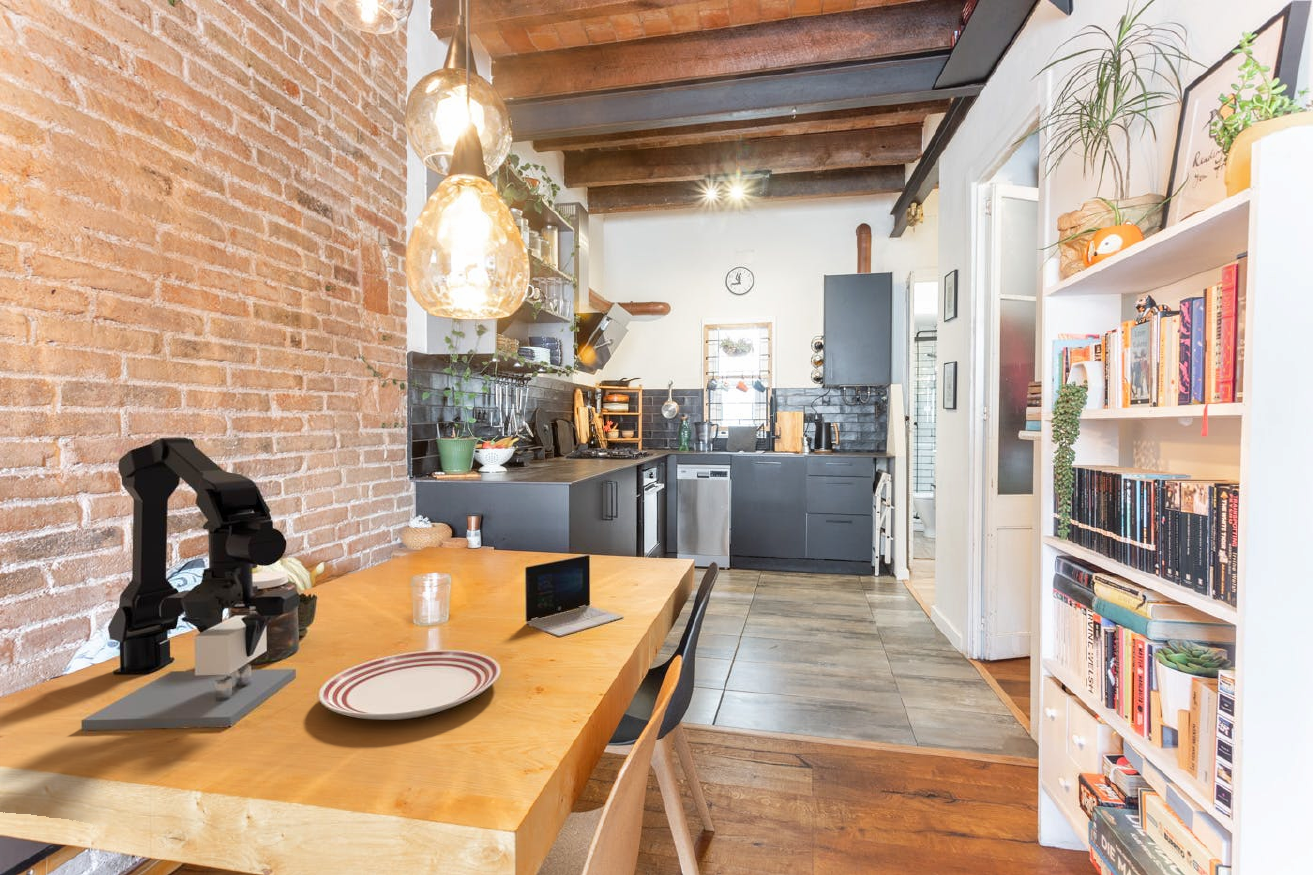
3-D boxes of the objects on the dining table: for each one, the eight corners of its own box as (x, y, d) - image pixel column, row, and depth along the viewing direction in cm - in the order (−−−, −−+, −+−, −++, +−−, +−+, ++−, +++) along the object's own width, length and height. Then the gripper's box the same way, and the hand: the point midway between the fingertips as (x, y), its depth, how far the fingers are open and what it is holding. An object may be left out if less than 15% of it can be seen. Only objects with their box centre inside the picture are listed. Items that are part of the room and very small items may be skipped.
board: (81, 730, 92) (81, 720, 92) (171, 679, 110) (171, 671, 110) (230, 726, 93) (230, 716, 93) (295, 677, 111) (295, 668, 110)
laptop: (559, 639, 131) (558, 576, 130) (525, 625, 139) (524, 566, 139) (624, 619, 143) (623, 562, 143) (589, 608, 152) (588, 554, 152)
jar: (314, 646, 126) (312, 571, 126) (263, 668, 115) (261, 585, 114) (266, 641, 129) (265, 567, 129) (212, 661, 118) (210, 581, 118)
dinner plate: (330, 676, 111) (330, 657, 111) (491, 655, 121) (490, 638, 121) (305, 752, 86) (304, 728, 86) (510, 718, 95) (510, 696, 95)
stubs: (211, 701, 98) (211, 682, 98) (240, 682, 105) (240, 664, 105) (226, 701, 98) (226, 681, 98) (254, 682, 105) (253, 664, 105)
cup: (286, 644, 127) (285, 605, 127) (270, 637, 131) (269, 599, 131) (324, 634, 133) (323, 596, 133) (308, 628, 137) (307, 591, 137)
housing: (195, 675, 96) (194, 635, 96) (236, 651, 106) (235, 615, 106) (228, 674, 96) (228, 635, 96) (266, 650, 106) (266, 615, 106)
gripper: (130, 571, 92) (132, 677, 93) (261, 570, 93) (263, 675, 94) (184, 555, 103) (186, 650, 104) (300, 554, 104) (302, 648, 105)
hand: (232, 656), depth 101 cm, fingers closed on housing, 5 cm apart
